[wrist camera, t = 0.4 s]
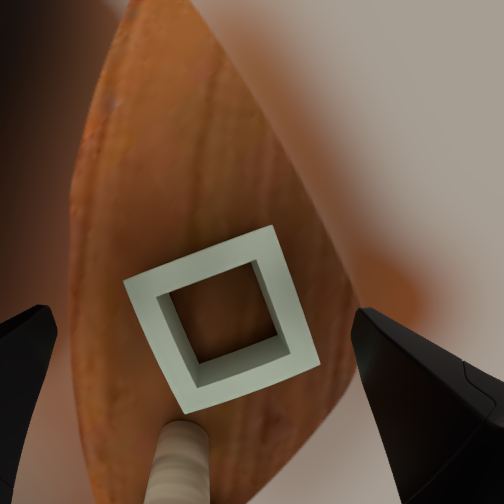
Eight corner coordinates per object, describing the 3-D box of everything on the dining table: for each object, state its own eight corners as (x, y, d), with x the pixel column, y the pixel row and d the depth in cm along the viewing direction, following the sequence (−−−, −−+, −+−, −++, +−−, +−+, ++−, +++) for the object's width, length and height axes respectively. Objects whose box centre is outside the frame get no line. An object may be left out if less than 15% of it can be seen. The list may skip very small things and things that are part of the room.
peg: (216, 450, 22) (221, 529, 13) (173, 461, 21) (163, 538, 12) (196, 414, 21) (191, 494, 12) (151, 427, 21) (129, 503, 12)
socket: (303, 344, 22) (320, 364, 18) (188, 387, 21) (184, 414, 17) (261, 227, 21) (272, 224, 17) (139, 273, 20) (122, 280, 17)
